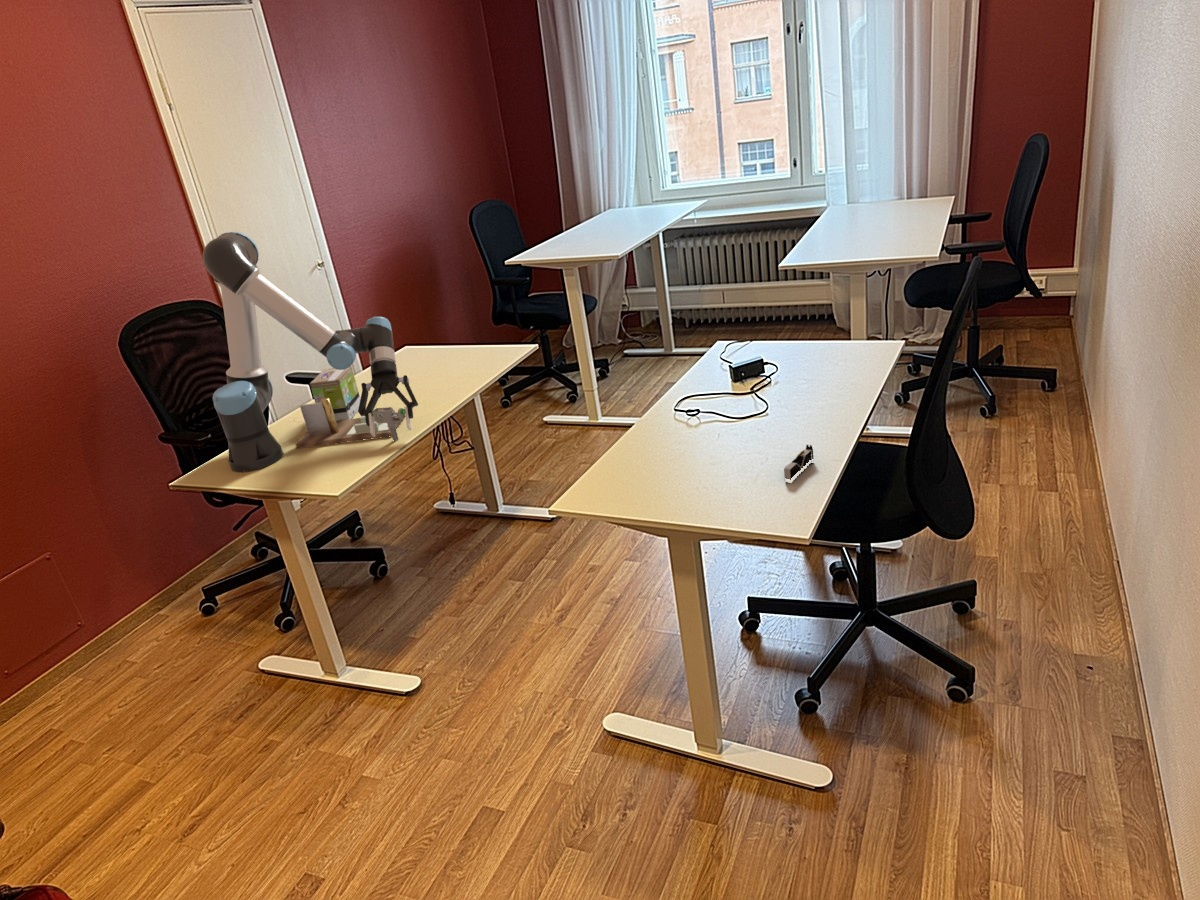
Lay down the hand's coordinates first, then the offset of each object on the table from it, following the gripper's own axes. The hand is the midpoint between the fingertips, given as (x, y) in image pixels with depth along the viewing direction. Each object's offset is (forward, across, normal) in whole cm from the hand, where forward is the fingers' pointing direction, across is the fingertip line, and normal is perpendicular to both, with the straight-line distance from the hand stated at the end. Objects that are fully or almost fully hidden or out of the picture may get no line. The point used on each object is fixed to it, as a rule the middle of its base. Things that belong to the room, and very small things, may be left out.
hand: (391, 431), depth 235 cm
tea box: (-22, +21, -28) cm, 41 cm away
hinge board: (-9, +15, -15) cm, 23 cm away
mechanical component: (+1, 0, -5) cm, 5 cm away
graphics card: (+49, -99, +43) cm, 119 cm away
